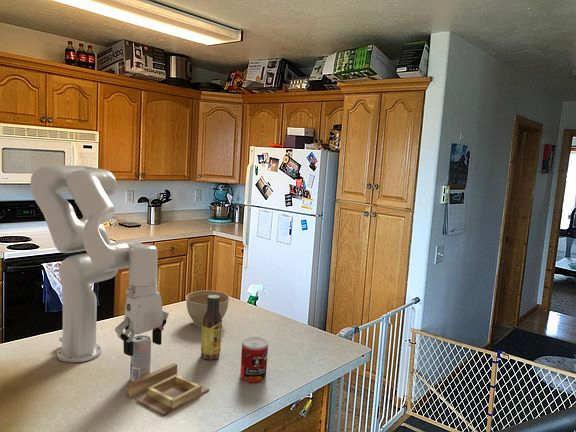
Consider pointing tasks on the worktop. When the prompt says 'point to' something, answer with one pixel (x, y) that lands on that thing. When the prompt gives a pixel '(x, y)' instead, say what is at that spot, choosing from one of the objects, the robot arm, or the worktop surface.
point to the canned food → (254, 359)
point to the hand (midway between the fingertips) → (143, 348)
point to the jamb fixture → (165, 390)
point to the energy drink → (140, 357)
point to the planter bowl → (204, 305)
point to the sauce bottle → (211, 329)
